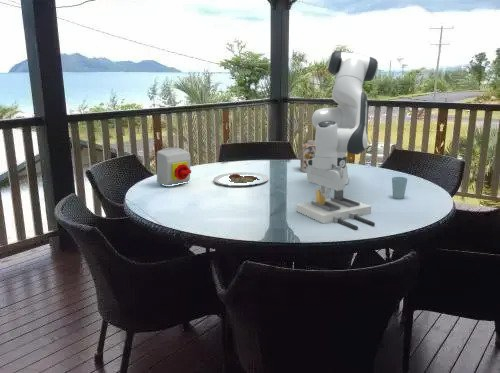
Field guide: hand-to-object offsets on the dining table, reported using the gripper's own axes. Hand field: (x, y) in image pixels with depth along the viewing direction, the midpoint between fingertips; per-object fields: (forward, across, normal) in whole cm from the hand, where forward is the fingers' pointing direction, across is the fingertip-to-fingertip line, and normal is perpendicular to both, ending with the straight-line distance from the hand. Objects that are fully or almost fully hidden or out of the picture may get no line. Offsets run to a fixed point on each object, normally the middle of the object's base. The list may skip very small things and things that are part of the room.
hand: (325, 196), depth 169 cm
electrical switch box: (+7, +80, +36) cm, 88 cm away
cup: (+7, +2, -43) cm, 44 cm away
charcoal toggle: (+4, +4, -10) cm, 11 cm away
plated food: (+8, +70, +3) cm, 70 cm away
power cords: (+7, -15, -2) cm, 17 cm away
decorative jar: (+7, +72, -45) cm, 85 cm away
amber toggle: (+4, +3, 0) cm, 5 cm away
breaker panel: (+7, 0, -4) cm, 8 cm away
